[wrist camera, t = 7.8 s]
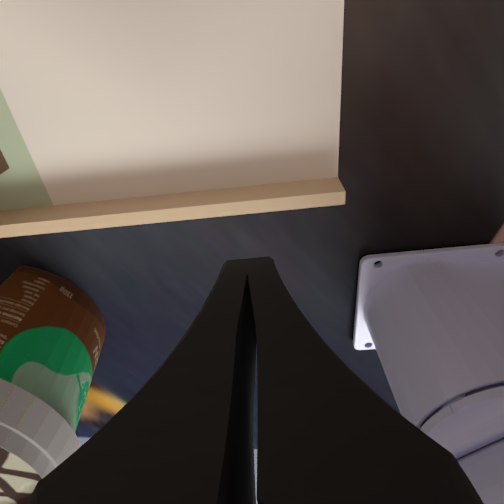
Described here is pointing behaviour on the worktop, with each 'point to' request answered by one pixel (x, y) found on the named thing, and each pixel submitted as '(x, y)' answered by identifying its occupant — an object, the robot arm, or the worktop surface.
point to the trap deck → (166, 110)
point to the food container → (42, 375)
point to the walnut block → (3, 163)
